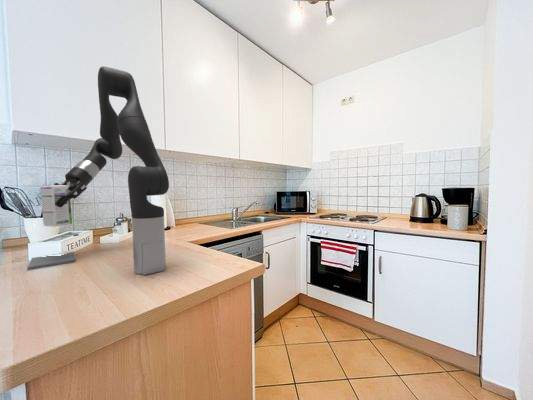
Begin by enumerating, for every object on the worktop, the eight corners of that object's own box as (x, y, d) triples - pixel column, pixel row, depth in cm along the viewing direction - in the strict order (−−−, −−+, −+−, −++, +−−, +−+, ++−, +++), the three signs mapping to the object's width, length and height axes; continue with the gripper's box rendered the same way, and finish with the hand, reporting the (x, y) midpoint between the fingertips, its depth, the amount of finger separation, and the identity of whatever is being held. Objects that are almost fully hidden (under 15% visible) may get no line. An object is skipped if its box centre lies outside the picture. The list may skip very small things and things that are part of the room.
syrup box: (55, 226, 80) (52, 185, 79) (42, 226, 81) (39, 185, 80) (72, 223, 85) (70, 185, 84) (60, 223, 87) (57, 185, 85)
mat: (75, 262, 82) (75, 259, 82) (27, 270, 74) (27, 267, 74) (74, 254, 93) (74, 251, 93) (32, 260, 85) (32, 257, 85)
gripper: (62, 166, 90) (26, 198, 80) (90, 166, 87) (57, 199, 76) (76, 180, 96) (45, 211, 85) (103, 180, 93) (74, 212, 82)
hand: (51, 205), depth 81 cm, fingers closed on syrup box, 6 cm apart
